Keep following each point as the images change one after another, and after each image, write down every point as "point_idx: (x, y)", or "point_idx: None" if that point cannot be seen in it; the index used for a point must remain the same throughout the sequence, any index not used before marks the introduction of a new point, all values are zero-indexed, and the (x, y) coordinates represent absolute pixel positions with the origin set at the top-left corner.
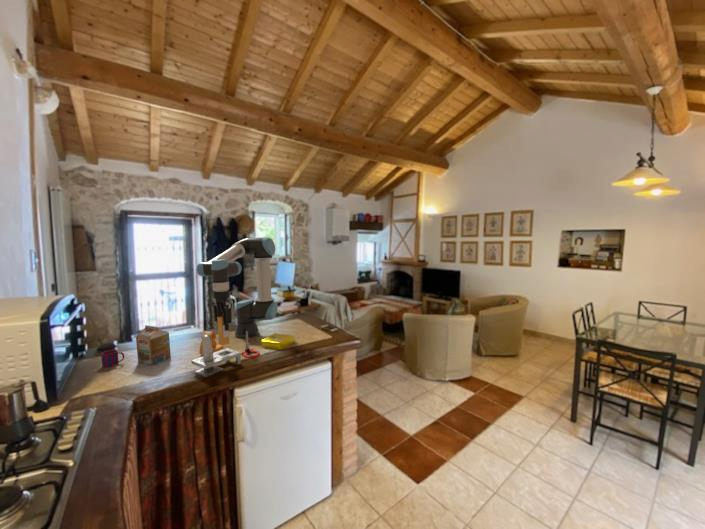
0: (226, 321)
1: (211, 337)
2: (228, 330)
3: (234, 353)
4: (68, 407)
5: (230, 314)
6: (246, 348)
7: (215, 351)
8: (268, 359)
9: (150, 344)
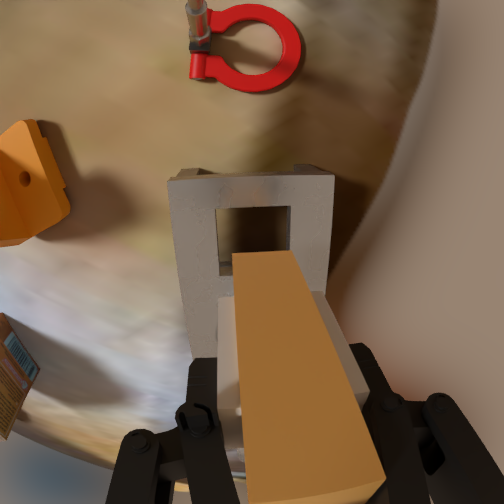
0: (424, 454)
1: None
2: (339, 330)
3: (312, 208)
4: (175, 480)
5: (496, 487)
6: (202, 45)
7: (53, 177)
8: (389, 55)
9: (12, 424)
